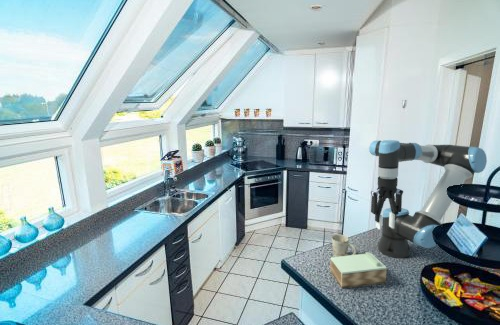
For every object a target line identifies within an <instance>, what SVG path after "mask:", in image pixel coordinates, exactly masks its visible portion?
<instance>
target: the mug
mask: <svg viewBox="0 0 500 325" xmlns="http://www.w3.org/2000/svg"><path fill="white" fill-rule="evenodd" d="M349 241H350V240H349V237H348V236H347V235H344V234H334V235H332V236H331V242H332V243H331V244H332V250H333V257H340V256H349V255H350V254H348V247H350V248H352V250H353V253H352V254H351V255H357V249H356V247H355V245H353V244H351V243H349Z"/></svg>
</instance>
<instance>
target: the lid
mask: <svg viewBox="0 0 500 325" xmlns="http://www.w3.org/2000/svg"><path fill="white" fill-rule="evenodd" d="M330 260H332V262H333V263H334V264H335V266H336V267H337V268H338V270H339V271H340V272H341V273H342V274H349V273H358V272H366V271H375V270H384V269H386V270H387V269H388V268H387V266H386V265H385V264H384V263H382V262H381V261H380V260H379V259H378V258H377V257H376V256H375V255H374V254H373V253H372V252H369V251H367V252H366V251H365V253H360V254H359V253H358V254H356V255H352V254H349V256H347V255H346V256H340V257H335V256H332V257H330Z"/></svg>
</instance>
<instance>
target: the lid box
mask: <svg viewBox="0 0 500 325" xmlns="http://www.w3.org/2000/svg"><path fill="white" fill-rule="evenodd" d="M329 269H330V271H329V272H330V274H331V275H332V277H333V278H334V279H335V281H336V282H337V284H338V285H339V287H340V288H341V289H349V288H357V287H365V286H373V285H382V284H386V283H387V269H384V270H375V271H366V272H358V273H349V274H342V273H341V272H340V271H339V270H338V268H337V267H336V266H335V264H334V263H333V262H332V260H331V259H330V267H329Z"/></svg>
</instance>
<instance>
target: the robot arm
mask: <svg viewBox="0 0 500 325" xmlns="http://www.w3.org/2000/svg"><path fill="white" fill-rule="evenodd" d="M368 150H369V151H368V152H369V154H371V155H372V156H375V157H378V166H377V168H378V171H377V175H378V177H377V188H376V190H373V191H372V190H371V191H370V194H371V203H370V205H371V206H370V213H372V214H373V215H374V216H375V217H374V221H375V222H376V224H375V228H377V229H378V230H380V231H381V235H380V239H379V241H378V243H377V250H378V251H379V252H380V253H381V254H383V255H385V256H387V257H391V258H396V259H404V258H408V257H409V256H410V255H411V247H410V244H409V242H411V243H413V244H415V245H417V246H419V247H422V248H425V249H431V248H434V247H436V246H437V245H436V244H435V242H434V240H433V237H432V230H433V229H434V228H435V227H436V226H438V225H441V224H442V222H441V221H442V219H443V217H444V215H445V214H446V212H447V211H448V209H449V207H450V206H451V205H452V202H453V201H452V200H451V199H450V198H449V197H448V195H447V192H446V190H447V188H448V187H449V186H453V185H460V184H464V183H465V181H466V180H468V179H471V178H472V177H473V176H474V175H475V173H476V174H478V173H479V174H480V173H482V172H483V171H484V170H485V169H486V166H487V162H488V160H487V154H486V151H485V150H484V149H483V148H481V147H477V146H467V145H466V146H465V145H458V144H457V145H454V144H425V145H420V144H418V143H417V142H407V143H406V142H400V141H399V140H394V139H393V140H392V139H388V140H385V139H384V140H379V139H378V140H373V141H372V142H370V144H369V148H368ZM407 161H422V162H423V163H426V164H432V165H435V166H439V167H442V168H444V170H445V171H444V172H443V174H442V176H441V177H440V179H439V180H438V183H437V184H436V185H435V187H434V189H433V190H432V192H431V193H430V194H429V197H428V198H427V200H426V202H425V203H424V205H423V206H422V208H421V209H420V210H419V211H415V212H414V214H413V215H410V211H409V210H408V209H407V208H402V203H403V200H402V198H403V194H404V190H402V189H399V188H398V181H399V180H398V177H399V163H401V162H407ZM387 199H388V202H389V207H388V208H386V209H384V210H383V208H384V205H385V202H386V200H387ZM382 210H383V212H382ZM381 213H382V214H381ZM408 241H409V242H408Z"/></svg>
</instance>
